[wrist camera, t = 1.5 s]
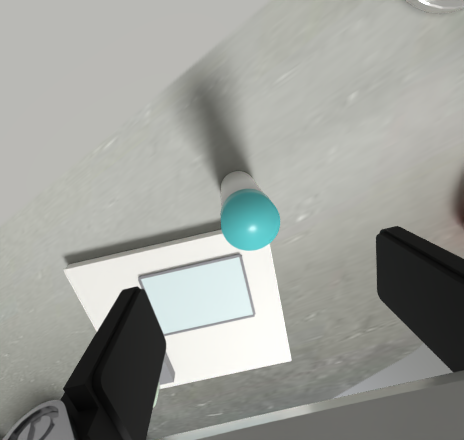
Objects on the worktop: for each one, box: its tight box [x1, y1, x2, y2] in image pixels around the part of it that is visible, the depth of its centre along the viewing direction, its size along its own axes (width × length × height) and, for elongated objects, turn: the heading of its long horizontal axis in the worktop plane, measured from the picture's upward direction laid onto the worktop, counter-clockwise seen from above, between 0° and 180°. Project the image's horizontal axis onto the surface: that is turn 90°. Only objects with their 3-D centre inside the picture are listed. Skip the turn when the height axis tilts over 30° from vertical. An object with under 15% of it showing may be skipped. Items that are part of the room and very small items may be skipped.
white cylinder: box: [221, 171, 280, 251], centre depth 20 cm, size 4×4×10 cm
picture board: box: [63, 229, 292, 389], centre depth 29 cm, size 22×20×2 cm
